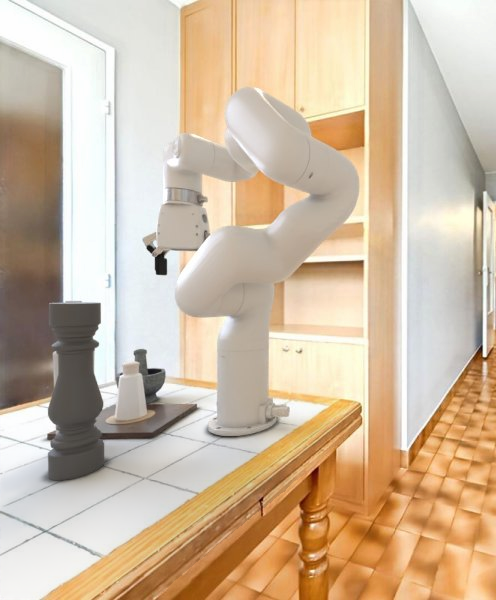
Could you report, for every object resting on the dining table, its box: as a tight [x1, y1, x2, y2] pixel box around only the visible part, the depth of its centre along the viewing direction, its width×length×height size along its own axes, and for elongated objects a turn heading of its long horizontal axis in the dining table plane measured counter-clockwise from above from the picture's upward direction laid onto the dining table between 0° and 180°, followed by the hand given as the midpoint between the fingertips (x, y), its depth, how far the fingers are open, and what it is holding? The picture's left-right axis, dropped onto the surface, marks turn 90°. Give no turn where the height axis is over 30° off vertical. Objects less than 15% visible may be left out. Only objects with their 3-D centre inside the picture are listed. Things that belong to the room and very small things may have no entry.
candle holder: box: [47, 301, 105, 481], centre depth 52 cm, size 6×6×25 cm
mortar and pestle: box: [115, 348, 167, 404], centre depth 84 cm, size 11×9×12 cm
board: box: [46, 403, 198, 440], centre depth 71 cm, size 18×16×1 cm
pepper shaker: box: [115, 361, 147, 421], centre depth 71 cm, size 5×5×11 cm
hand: (183, 275), depth 80 cm, fingers open, 9 cm apart
